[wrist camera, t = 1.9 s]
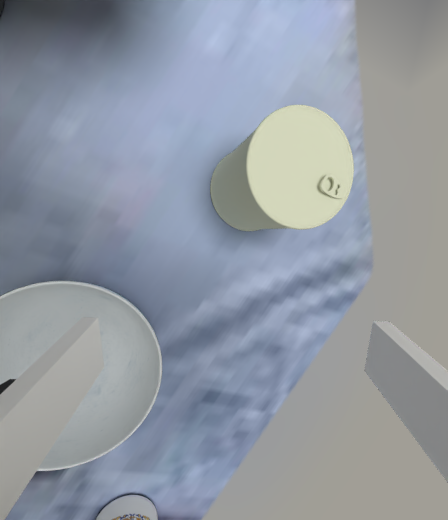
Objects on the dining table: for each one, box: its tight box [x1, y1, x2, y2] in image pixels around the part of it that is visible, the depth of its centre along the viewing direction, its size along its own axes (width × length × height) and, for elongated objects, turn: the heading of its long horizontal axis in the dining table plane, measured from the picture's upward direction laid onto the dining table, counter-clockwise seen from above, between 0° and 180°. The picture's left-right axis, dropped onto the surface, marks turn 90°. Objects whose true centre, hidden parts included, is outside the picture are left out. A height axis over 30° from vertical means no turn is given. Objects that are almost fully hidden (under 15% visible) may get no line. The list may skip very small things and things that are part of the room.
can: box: [210, 105, 354, 231], centre depth 26 cm, size 9×9×12 cm
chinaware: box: [0, 281, 162, 471], centre depth 25 cm, size 15×15×8 cm
